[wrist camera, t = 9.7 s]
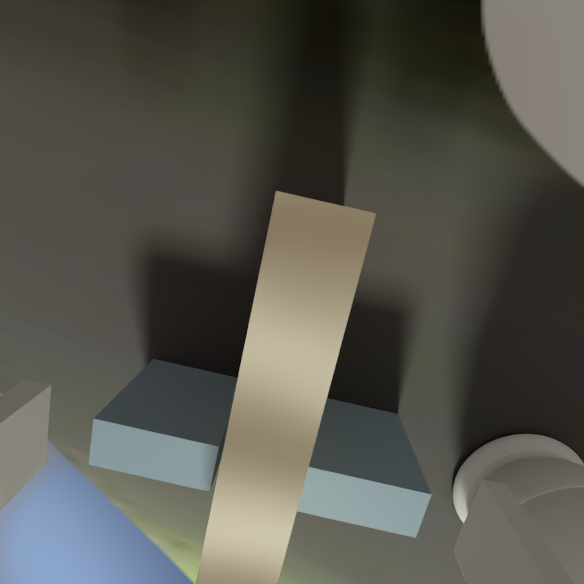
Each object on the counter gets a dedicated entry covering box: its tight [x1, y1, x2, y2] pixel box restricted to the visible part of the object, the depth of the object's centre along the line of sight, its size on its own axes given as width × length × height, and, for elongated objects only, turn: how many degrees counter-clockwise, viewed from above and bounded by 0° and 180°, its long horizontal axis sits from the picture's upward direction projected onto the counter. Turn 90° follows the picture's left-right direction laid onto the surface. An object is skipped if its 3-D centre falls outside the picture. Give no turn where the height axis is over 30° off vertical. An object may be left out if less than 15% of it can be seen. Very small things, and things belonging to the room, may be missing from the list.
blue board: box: [89, 359, 432, 538], centre depth 22 cm, size 16×2×7 cm, turn 77°
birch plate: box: [196, 191, 376, 584], centre depth 19 cm, size 17×3×11 cm, turn 168°
